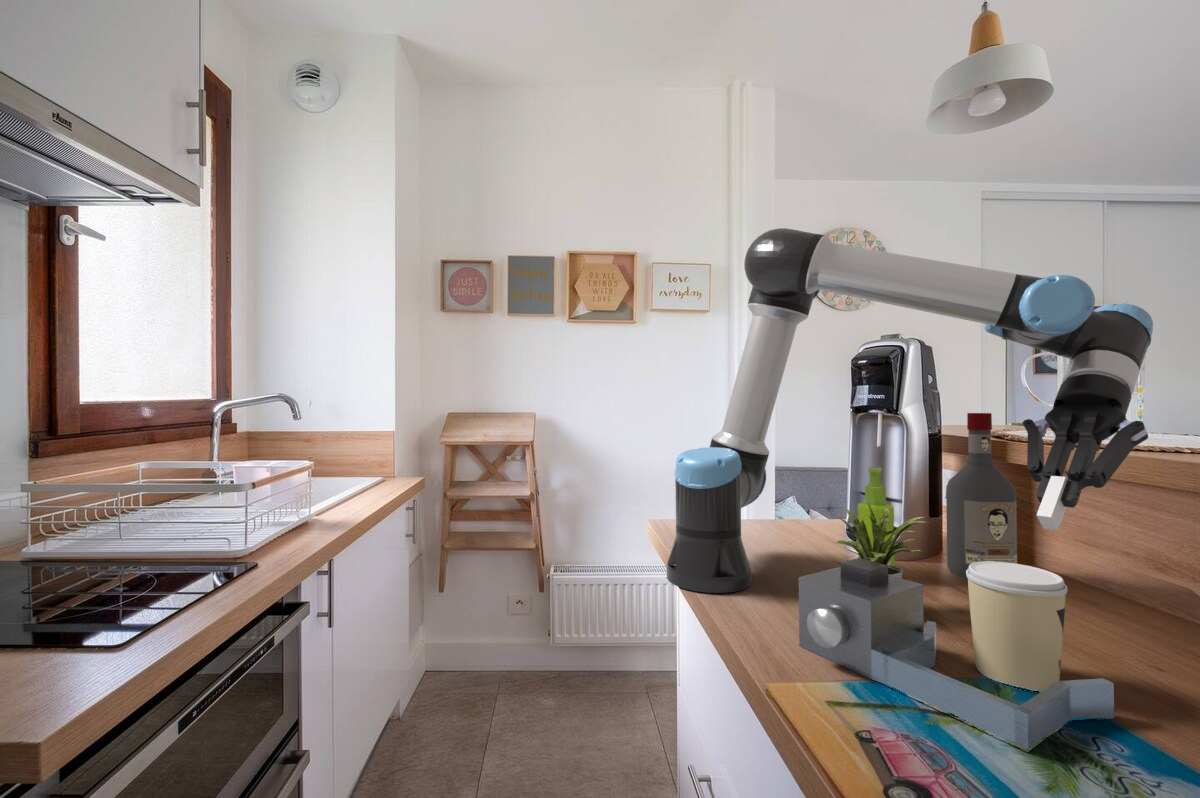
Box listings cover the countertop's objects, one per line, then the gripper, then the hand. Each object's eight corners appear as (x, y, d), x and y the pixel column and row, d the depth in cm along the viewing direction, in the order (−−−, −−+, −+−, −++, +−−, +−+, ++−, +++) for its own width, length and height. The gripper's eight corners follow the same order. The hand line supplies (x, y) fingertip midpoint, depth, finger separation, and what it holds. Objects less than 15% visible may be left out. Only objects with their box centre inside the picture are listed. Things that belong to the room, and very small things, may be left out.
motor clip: (864, 622, 77) (864, 546, 77) (1115, 717, 54) (1114, 607, 54) (789, 649, 69) (788, 564, 69) (1046, 774, 45) (1044, 645, 45)
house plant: (947, 636, 72) (946, 516, 72) (836, 622, 77) (835, 510, 77) (923, 600, 86) (922, 499, 86) (830, 590, 90) (829, 494, 91)
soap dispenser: (895, 573, 99) (894, 466, 99) (893, 584, 93) (892, 470, 94) (861, 568, 102) (859, 464, 103) (856, 578, 96) (855, 468, 97)
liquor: (941, 567, 103) (939, 412, 103) (989, 567, 102) (987, 412, 102) (972, 583, 93) (970, 413, 94) (1025, 584, 93) (1023, 413, 93)
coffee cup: (1090, 700, 57) (1088, 588, 57) (991, 691, 58) (990, 582, 59) (1036, 659, 66) (1035, 562, 66) (953, 652, 68) (952, 558, 68)
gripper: (1167, 408, 71) (1126, 553, 62) (1046, 409, 82) (997, 531, 73) (1153, 367, 68) (1108, 512, 59) (1030, 373, 79) (977, 496, 70)
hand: (1047, 522), depth 66 cm, fingers closed
